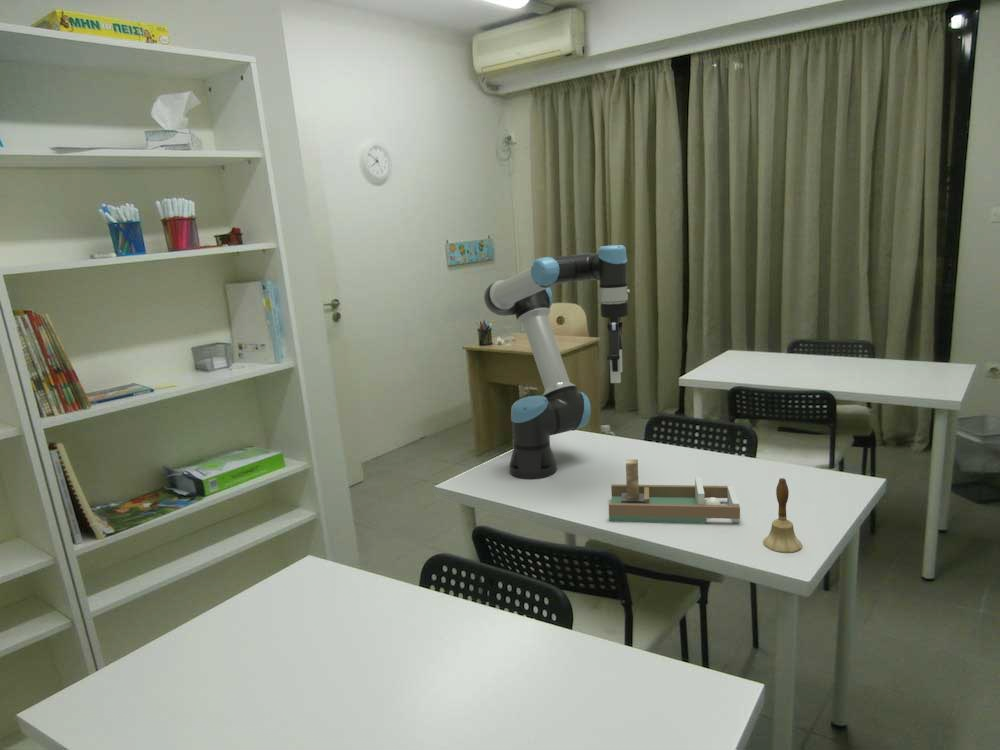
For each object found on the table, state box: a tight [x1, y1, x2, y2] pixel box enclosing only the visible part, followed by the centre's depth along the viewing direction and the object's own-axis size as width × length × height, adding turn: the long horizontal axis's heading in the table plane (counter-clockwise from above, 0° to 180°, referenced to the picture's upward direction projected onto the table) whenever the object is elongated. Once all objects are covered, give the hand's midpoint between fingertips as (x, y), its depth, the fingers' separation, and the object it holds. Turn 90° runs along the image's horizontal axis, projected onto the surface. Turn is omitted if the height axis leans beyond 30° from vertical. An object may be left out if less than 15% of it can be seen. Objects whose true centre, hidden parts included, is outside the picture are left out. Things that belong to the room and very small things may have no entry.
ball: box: [705, 497, 722, 505], centre depth 170 cm, size 4×4×4 cm
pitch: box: [608, 476, 741, 525], centre depth 172 cm, size 32×14×8 cm, turn 78°
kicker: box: [621, 459, 649, 504], centre depth 173 cm, size 7×8×12 cm
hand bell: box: [762, 477, 803, 554], centre depth 149 cm, size 8×8×16 cm
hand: (616, 377), depth 185 cm, fingers open, 13 cm apart
